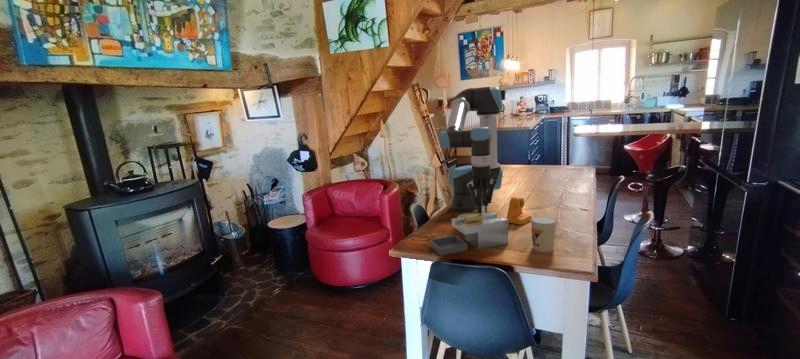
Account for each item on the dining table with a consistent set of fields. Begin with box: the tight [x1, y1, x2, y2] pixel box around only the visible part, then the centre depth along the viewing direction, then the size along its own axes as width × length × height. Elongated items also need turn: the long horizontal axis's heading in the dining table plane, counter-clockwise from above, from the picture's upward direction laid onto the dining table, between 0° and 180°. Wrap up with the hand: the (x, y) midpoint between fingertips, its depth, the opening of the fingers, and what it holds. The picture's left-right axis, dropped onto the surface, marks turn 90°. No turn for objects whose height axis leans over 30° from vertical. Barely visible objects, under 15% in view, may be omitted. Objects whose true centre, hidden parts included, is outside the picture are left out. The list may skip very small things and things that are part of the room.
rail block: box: [451, 211, 509, 250], centre depth 159 cm, size 12×20×10 cm, turn 107°
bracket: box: [506, 196, 532, 226], centre depth 181 cm, size 11×7×12 cm, turn 132°
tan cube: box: [472, 213, 483, 223], centre depth 157 cm, size 4×4×4 cm
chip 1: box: [464, 215, 475, 224], centre depth 156 cm, size 4×4×4 cm
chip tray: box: [429, 234, 469, 257], centre depth 156 cm, size 11×12×3 cm
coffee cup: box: [530, 215, 557, 253], centre depth 149 cm, size 9×9×12 cm
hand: (482, 220), depth 158 cm, fingers closed
